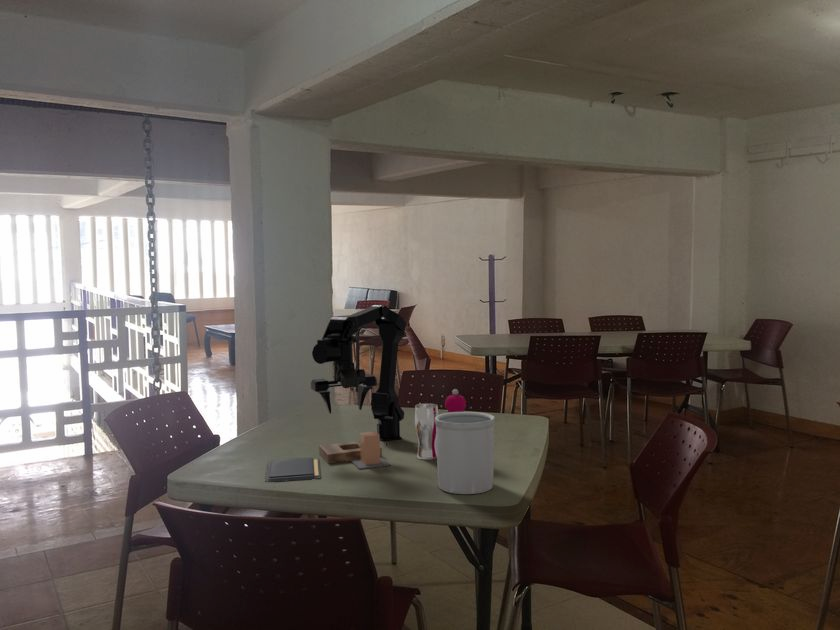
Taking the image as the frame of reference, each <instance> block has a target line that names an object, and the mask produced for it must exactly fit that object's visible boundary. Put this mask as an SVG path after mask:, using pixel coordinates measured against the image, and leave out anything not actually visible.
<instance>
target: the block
mask: <svg viewBox="0 0 840 630" xmlns="http://www.w3.org/2000/svg"><path fill="white" fill-rule="evenodd" d="M359 441H360V451H361V462H362V463H363V464H365V465H369V464H377V463H380V447H381V439H380V435H379V434H378V433H377V431H366V432H359Z"/></svg>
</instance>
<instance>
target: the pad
mask: <svg viewBox="0 0 840 630" xmlns="http://www.w3.org/2000/svg"><path fill="white" fill-rule="evenodd" d="M350 462H351V463H352V464H353V465H354V466H355V467H356V468H357V469H358V470H366V469H367V468H368V469H374V468H375V467H376V468H382V467H383V466H384V467H389V466H391V463H390V462H389V461H387V460H386V459H384V458H383V456H382V457H381V456H380V463H377V464H369V465H365V464H363V463H362V462H361V459H354V460H351V461H350ZM384 467H383V468H384ZM368 469H367V470H368Z"/></svg>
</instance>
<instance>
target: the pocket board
mask: <svg viewBox="0 0 840 630" xmlns="http://www.w3.org/2000/svg"><path fill="white" fill-rule="evenodd" d="M382 449H383V448H382V447H381V446H380V456H381V457H382V458H383V453H382V452H383V451H382ZM318 450H319V451H318V453H319V454H318V455H319V456H322V457H321V458H322V459H323V461H325V462H326V463H327V464H334V463H335V464H336V462H337V463H344V461H345V462H351V460H354V459H361V451H360V440H358V441H357V440H355V441H349V442H348V441H347V442H339V443H332V444H331V443H330V444H321V445H318Z"/></svg>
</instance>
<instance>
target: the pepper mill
mask: <svg viewBox="0 0 840 630" xmlns="http://www.w3.org/2000/svg"><path fill="white" fill-rule="evenodd" d="M451 393H452V394H450V395H447V397H446V398H445V402H444V406H445V409H446V410H447V412H446V413H450V412H465V411H464V410H465V409H466V407H467V401H466V398H465V397H464V396H463V395H460V394H459V390H458V389H457V388H454V389H452V391H451Z"/></svg>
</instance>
